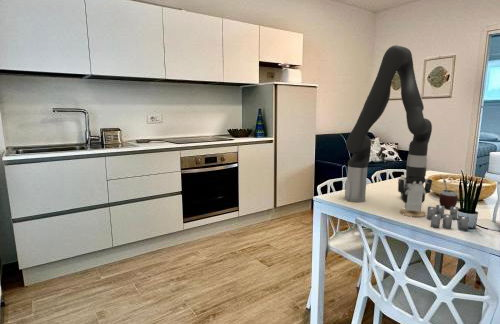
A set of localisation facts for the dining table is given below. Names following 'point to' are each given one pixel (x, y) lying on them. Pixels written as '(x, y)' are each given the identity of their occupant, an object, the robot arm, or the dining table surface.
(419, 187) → the skincare box
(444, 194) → the mate gourd
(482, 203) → the dining table surface
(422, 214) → the coaster
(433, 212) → the spacer field
